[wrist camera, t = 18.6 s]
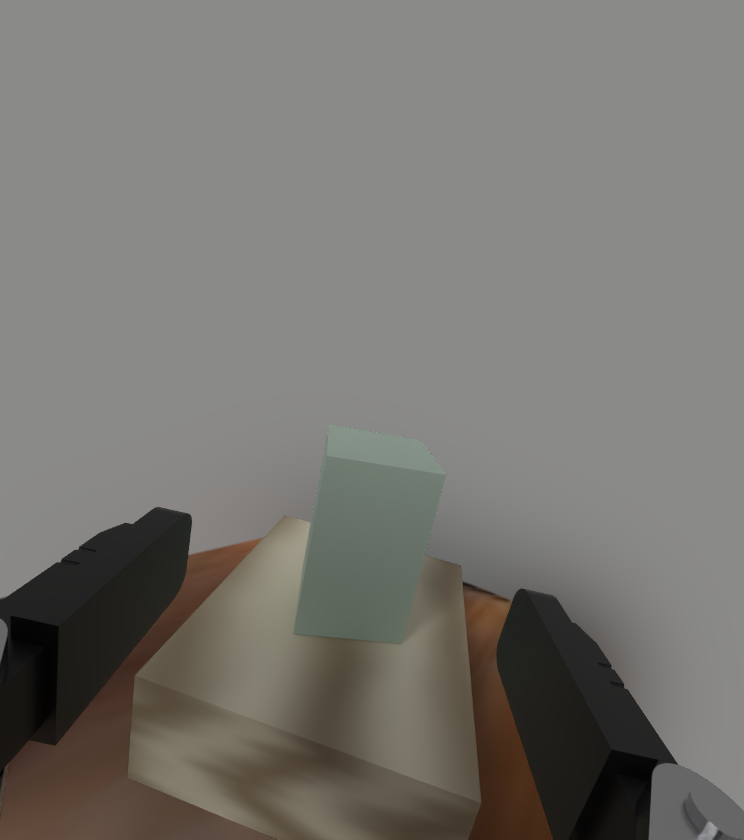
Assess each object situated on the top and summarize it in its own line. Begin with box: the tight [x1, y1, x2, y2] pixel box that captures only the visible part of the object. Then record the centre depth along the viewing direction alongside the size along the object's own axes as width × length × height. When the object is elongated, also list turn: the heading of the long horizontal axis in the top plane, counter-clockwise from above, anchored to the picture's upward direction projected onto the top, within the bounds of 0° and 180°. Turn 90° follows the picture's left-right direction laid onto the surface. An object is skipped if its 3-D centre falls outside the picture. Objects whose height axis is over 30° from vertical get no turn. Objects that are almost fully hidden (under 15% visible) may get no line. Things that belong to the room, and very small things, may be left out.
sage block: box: [294, 424, 446, 644], centre depth 21 cm, size 6×6×10 cm
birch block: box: [127, 516, 481, 840], centre depth 22 cm, size 14×15×6 cm
